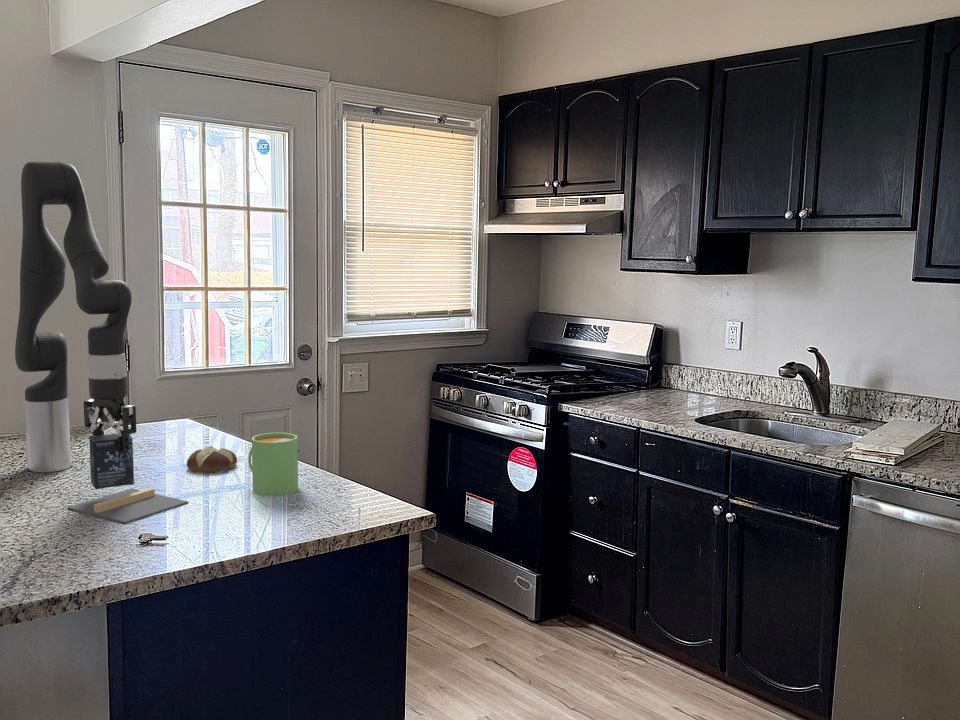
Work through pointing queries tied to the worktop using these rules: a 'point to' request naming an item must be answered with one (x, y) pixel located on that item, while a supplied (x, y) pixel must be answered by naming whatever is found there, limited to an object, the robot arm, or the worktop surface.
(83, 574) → the worktop surface
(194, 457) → the bread
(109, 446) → the box
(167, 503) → the mat
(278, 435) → the mug
